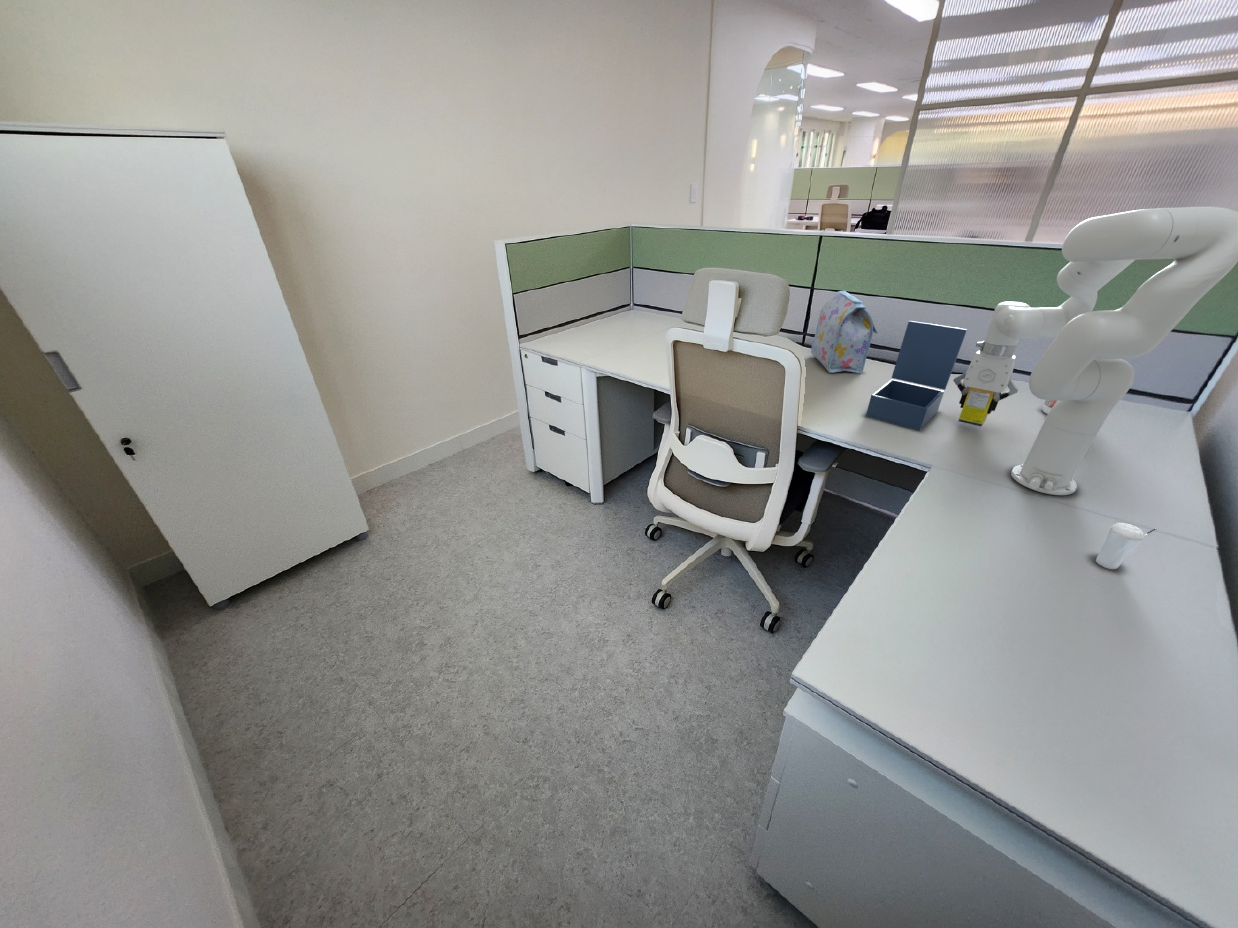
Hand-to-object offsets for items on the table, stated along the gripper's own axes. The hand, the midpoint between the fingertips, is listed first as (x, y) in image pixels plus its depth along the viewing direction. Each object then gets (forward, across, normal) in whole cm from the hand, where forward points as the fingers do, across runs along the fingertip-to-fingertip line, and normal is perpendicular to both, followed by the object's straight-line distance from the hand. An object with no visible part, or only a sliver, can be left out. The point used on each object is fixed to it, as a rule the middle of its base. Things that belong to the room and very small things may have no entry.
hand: (975, 409), depth 141 cm
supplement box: (+4, 0, 0) cm, 4 cm away
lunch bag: (+4, -52, +28) cm, 59 cm away
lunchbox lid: (-12, -17, +4) cm, 21 cm away
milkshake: (+8, +34, -49) cm, 60 cm away
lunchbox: (+5, -18, -4) cm, 19 cm away
